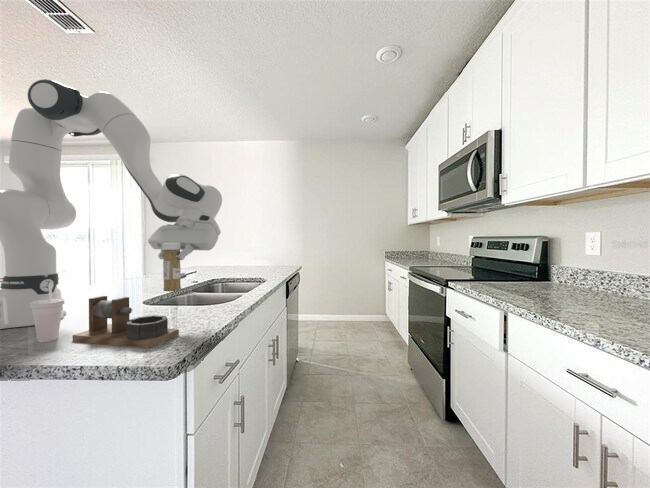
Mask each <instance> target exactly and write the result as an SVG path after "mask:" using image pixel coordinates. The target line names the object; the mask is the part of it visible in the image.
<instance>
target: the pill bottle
mask: <svg viewBox="0 0 650 488" xmlns="http://www.w3.org/2000/svg"><path fill="white" fill-rule="evenodd" d="M180 249H181V244H180V243H163V259H162V261H163V262H162V263H163V264H162V268H163V269H162V271H163V272H162V273H163V275H162V276H163V278H162V279H163V291H164V292H177V291H181V290H182V286H181V283H182V282H181V278H182V276H181V260H178V259H177V258H176V255H177V253H178V252H181V250H180Z"/></svg>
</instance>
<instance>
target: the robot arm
mask: <svg viewBox="0 0 650 488" xmlns="http://www.w3.org/2000/svg"><path fill="white" fill-rule="evenodd" d="M27 101H28V102H29V104H30V106H31V107H26V108H23V109H21V110H19V112H18V113H17V116H16V117H15V122H14V123H13V128H12V132H11V138H10V148H9V149H10V150H9V159H8V160H9V161H8V167H9V170H10V172H12V173H13V174H14V175H15V176H16V177H17V178H18V179H19V180H20V182H21V184H22V186H23V190H20V189H19V190H18V189H11V188H1V189H0V243H1V246H2V247H3V251H4V262H5V263H4V266H5V267H4V268H5V275H4V276H3V277H2V278H0V283H1V284H0V330H3V329H9V328H11V329H12V328H22V327H29V326H35V323H34V318H33V312H32V308H31V307H30V303H31V302H34V301H38V300H46V299H49V283H52V299H63V298H62V291H61V290H60V288H58V285H59V273H57V250H56V248H55V247H54V245H52V244H50V243H49V242H47V240H46V239H45V238H44V235H43V233H42V230H58V229H62V228H63V229H64V228H68V227H70V226H71V225H72V224H73V223H74V222H75V220H76V218H77V210H76V207H75V206H74V204H73V203H72V202H70V200H69V199H68V198H67V195H66V193H65V191H64V188H63V184H62V180H61V164H62V163H61V161H62V149H63V148H62V147H63V142H64V141H63V140H64V137H65V136H66V135H68V134H69V136H72V137H74V138H75V137H76V138H77V137H82V136H86V137H87V136H88V137H89V136H96V135H99V134H103V135H104V137H105V138H106V139H107V141H108V142H109V143H110V144H111V146H112V147H113V148H114V150H115V151H116V153H117V154H118V156H119V158H120V159H121V161H122V163H123V165H124V166H125V169H126V170H127V172H128V173H129V175H130V176H131V178H132V179H133V180H134V182H135V183H136V184H137V186H138V187H139V189H140V190H141V191H142V193H143V194H144V195H145V197H146V198H147V200H148V201H149V204H150V206H151V210H152V212H153V214H154V215H155V216H156V217H157V218H158V219H160V220H162V221H163V222H168V223H169V224H166V225H161V226H160V227H158V228H157V229H155V231H154V232H153V233H152V234H151V235H150V236H149V237H148V239H147V242H148V244H149V245H150V247H151V248H152V249H154V250H160V252H159V254H158V255H157V257H158V258H159V260H163V243H180V244H181V249H180V252H178V253H177V255H176V258H177V259H178V260H180V261H183V260H185V258H186V257H187V256H189V255H190V254H192V253H193V252H194V251H211V250H213V249H214V247H215V246H216V244H217V242H218V240H219V236H220V234H221V233H222V232H221V229H220V227H219V224H218V223H217V221H216V219H215V218H216V217H217V215H218V213H219V211H220V210H221V207H222V203H223V196H222V194H221V192H220V190H219V189H218V188H216V187H214V186H212V185H210V184H209V185H208V184H206V185H205V184H201V183H199V182H198V183H197V181H195V180H193V179H192V178H191V177H189V176H187V175H184V174H178V173H177V174H176V173H175V174H171V175H169V176H168V177H166V179H165V180H164V183H163V184H162V183H161V181H160V180H159V178H158V177H157V176H156V174H155V173H154V171H153V169H152V167H151V161H150V156H151V155H150V153H151V152H150V150H151V135H150V134H149V133H150V132H149V131H148V129H147V127H146V126H145V125H144V123H143V122H142V121H141V120H140V119H139V117H137V115H136V114H135V113H134V112H133V111H132V110H131V109H130V108H129V107H128V106H127V105H126V104H125V103H124V102H123V101H122V100H120V99H119V98H118V97H117V96H116V95H114V94H113V93H112V92H111V93H110V92H107V91H98V92H95V93H92V94H91V95H89V96H88V95H87V96H86V95H83V94H81V92H80V91H79V90H78V89H76V88H74V87H71V86H69V85H66V84H63V83H61V82H58V81H55V80H52V79H39V80H36V81H35V82H33V83H32V84H31V85H29V87H28V91H27ZM170 223H175V224H170ZM65 315H67V311H66V310H64V306H63V307H62V314H61V319H63V318H64V317H65Z"/></svg>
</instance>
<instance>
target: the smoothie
mask: <svg viewBox="0 0 650 488" xmlns="http://www.w3.org/2000/svg"><path fill="white" fill-rule="evenodd" d="M64 304H65V299H64V298H62V299H52V283H49V299H46V300H38V301H34V302H31V303H30V307H31V308H32V312H33V318H34V323H35V325H34V328H35V335H36V337H37V343H49V342H54V341H56V340H58V338H59V334H60V327H61V320H62V318H61V314H62V307H63V308H64V306H63V305H64Z"/></svg>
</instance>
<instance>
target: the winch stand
mask: <svg viewBox="0 0 650 488" xmlns="http://www.w3.org/2000/svg"><path fill="white" fill-rule="evenodd" d="M132 312H133V309H132V307H130V296H124V297H118V298H114V299H113V298H112V299H111V300H108V295H100V296H95V297H89V298H88V330H85V331H82V332H79V333H75V334H72V342H74V343H75V342H77V343H85V344H86V343H88V344H96V345H97V344H100V345H108V346H119V347H129V348H130V347H131V348H140V349H151V348H153V347H155V346H157V345H160V344H162V343H165V342H167V341H168V340H171V339H173V338H175V337H178V336H179V334H180V333H179V331H180V330H179V329H178V328H177V329H176V328H169V327H168V324H169V322H168V317H167V315H158V314H156V315H153V314H152V315H146V316H137V317H134V318H131V319H130V314H131V313H132ZM108 319H111V323H108Z"/></svg>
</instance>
